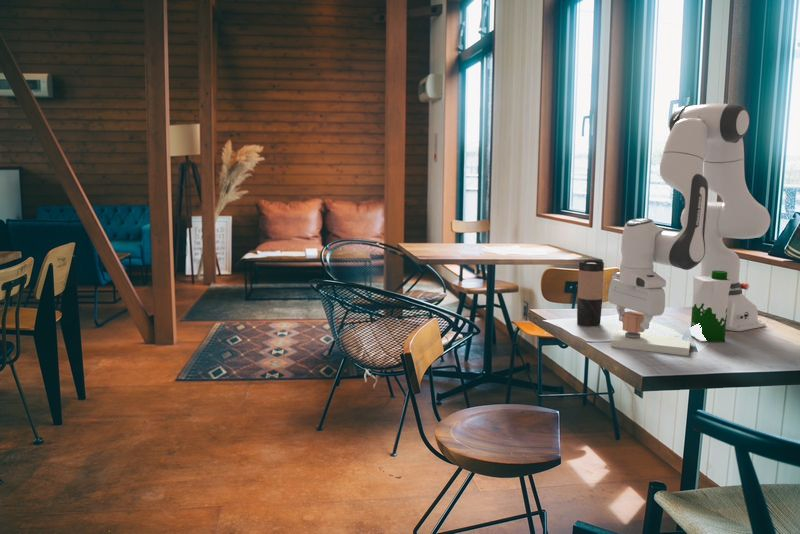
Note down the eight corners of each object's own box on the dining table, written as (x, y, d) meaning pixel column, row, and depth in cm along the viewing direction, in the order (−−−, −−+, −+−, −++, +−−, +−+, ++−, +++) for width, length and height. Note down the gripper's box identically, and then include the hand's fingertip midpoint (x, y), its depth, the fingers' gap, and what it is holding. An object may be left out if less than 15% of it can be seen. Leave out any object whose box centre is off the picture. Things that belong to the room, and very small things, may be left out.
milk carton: (729, 343, 194) (735, 274, 191) (697, 342, 194) (702, 273, 191) (716, 335, 203) (721, 269, 200) (685, 335, 203) (690, 269, 200)
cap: (619, 328, 194) (620, 312, 193) (636, 327, 196) (637, 310, 195) (630, 333, 189) (631, 316, 188) (648, 331, 190) (649, 315, 189)
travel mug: (602, 327, 212) (605, 264, 209) (576, 326, 213) (579, 263, 210) (599, 321, 219) (603, 260, 216) (575, 320, 221) (578, 260, 218)
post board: (690, 345, 192) (692, 317, 190) (688, 355, 181) (690, 326, 180) (616, 337, 200) (618, 310, 199) (610, 346, 189) (612, 318, 188)
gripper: (603, 271, 198) (601, 317, 201) (651, 283, 179) (648, 334, 181) (622, 270, 200) (619, 316, 203) (670, 282, 181) (667, 332, 184)
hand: (633, 325), depth 192 cm, fingers open, 8 cm apart
